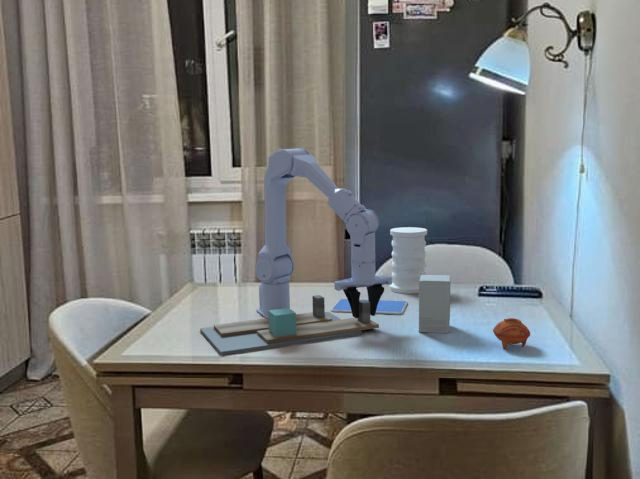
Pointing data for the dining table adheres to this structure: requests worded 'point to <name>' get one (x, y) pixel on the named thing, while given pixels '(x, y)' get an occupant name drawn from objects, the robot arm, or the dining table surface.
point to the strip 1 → (263, 324)
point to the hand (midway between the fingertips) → (363, 316)
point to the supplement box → (434, 303)
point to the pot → (511, 332)
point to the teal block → (282, 322)
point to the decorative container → (408, 258)
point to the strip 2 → (327, 327)
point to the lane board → (261, 340)
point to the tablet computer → (382, 307)
